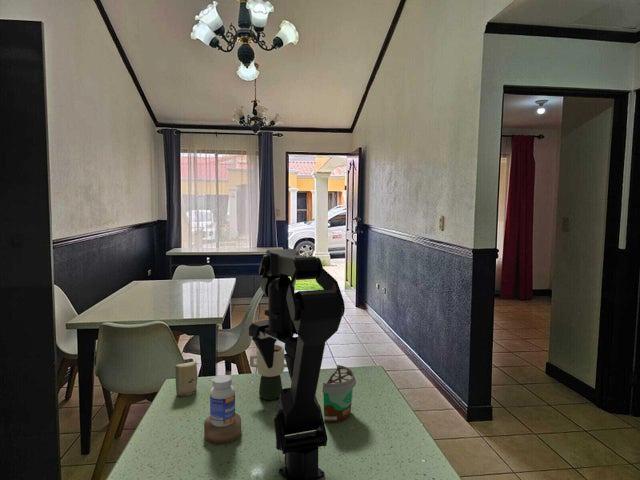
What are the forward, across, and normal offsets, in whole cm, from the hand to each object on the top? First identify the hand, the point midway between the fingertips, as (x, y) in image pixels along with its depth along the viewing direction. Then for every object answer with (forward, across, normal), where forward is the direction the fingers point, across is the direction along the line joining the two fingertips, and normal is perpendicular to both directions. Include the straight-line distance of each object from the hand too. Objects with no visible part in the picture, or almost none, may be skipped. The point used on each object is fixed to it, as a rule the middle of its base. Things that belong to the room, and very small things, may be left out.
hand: (281, 374), depth 93 cm
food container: (+13, -4, -15) cm, 20 cm away
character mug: (+13, +15, -7) cm, 21 cm away
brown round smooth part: (+13, +7, +11) cm, 18 cm away
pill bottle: (+10, +7, +11) cm, 16 cm away
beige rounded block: (+13, +31, +9) cm, 35 cm away
